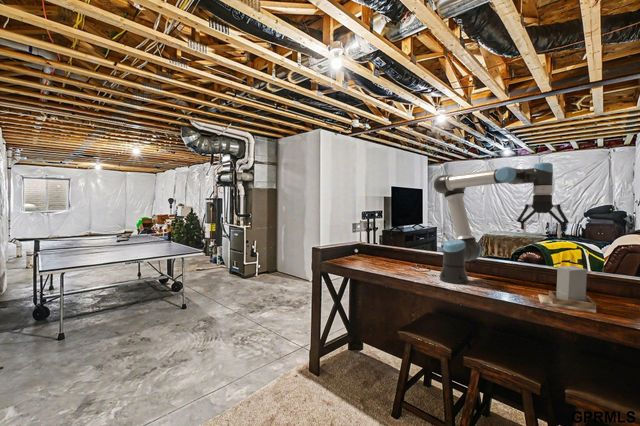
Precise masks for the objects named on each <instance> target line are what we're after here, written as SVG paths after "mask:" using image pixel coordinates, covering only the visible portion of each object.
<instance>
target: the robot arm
mask: <svg viewBox="0 0 640 426" xmlns="http://www.w3.org/2000/svg"><path fill="white" fill-rule="evenodd" d="M553 177H554V167H553V164H552V163H551V162H538V163H534V164H533V167H531V168H517V167H515V168H514V167H510V166H502V167H499V168H497V169H495V168H494V169H490V170H483V171H475V172H470V173H464V174H463V173H462V174H456V175H453V174H442V175H438V176H437V177H436V178H435V179H434V181H433V188H434V190H435V192H437V193H439V194H443V196H444V199H445V200H446V201H448V206H449V211H450V215H451V219H452V223H453V228H454V232H455V239H451V240H446V241H444V243H443V247H442V250H443V251H442V255H443V256H442V259H443V260H442V268H441V271H440V274H439V280H440V281H442V282H444V283H448V284H458V285H459V284H462V285H463V284H468V283H469V278H468V274H467V272H466V262H469V261H474V260H478V259H479V258H480V257H481V255H482V252H483V251H482V249H483V248H482V246H481V244H480V243H479V242H477V240H476V237H475V236H474V235H473V233H472V231H471V227H470V223H469V222H470V221H469V219H468V214H467V210H466V206H465V203H464V196H465V190H466V188H469V187H470V188H471V187H480V186H481V187H482V186H490V185H497V184H506V183H507V184H508V185H522V184H523V185H524V184H533V185H532V193H533V195H532V204H528V203H526V204H524V209H523V210H522V211H521V213H520V215H519V217H518V218H517V219H516V222H518V223H520V229H521V231H522V230H523V233H522V234H523V237H527V236H526V229H527V223H526V222H527V221H528V220H529V219H530V218H531V217H533V215H534V214H536V213H537V214H549V215H550V216H551V217H552V218H554V220H556V222H557V223H558V224H557V239H561V235H562V233H561V232H564V228H565V227H564V226H565V225H566V224H569V223H570V222H569V220H568V219H567V217H566V215H565V213H564V212H563V210H562V209H561V208H562V207H561V206H562V205H561V204H559V203H558V204H553V195H552V194H553V179H554V178H553ZM530 208H532V209H533V210H532V211H531V212H530V213H529V214H528V215H526V216H525V214H526V212H528V210H529V209H530ZM553 208H554V209H555V210H556V211H558V212H557V213H558V214H559V215H560V217H561V218H562V220H563V221H562V220H561V219H560V218H559V217H558V215H556V213H554V212H553V211H552V209H553ZM524 216H525V217H524ZM523 217H524V218H523ZM522 218H523V219H522Z"/></svg>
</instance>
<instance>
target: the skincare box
mask: <svg viewBox="0 0 640 426" xmlns="http://www.w3.org/2000/svg"><path fill="white" fill-rule="evenodd" d="M556 274H557V276H556V292H557V294H556V298H561V299H568V300H575V301H582V302H585V300H586V296H587V279H588V277H587V276H588V269H587V268H583V267H579V266H576V265H568V266H566V265H565V266H557V272H556Z"/></svg>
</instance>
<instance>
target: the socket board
mask: <svg viewBox="0 0 640 426" xmlns="http://www.w3.org/2000/svg"><path fill="white" fill-rule="evenodd" d="M556 294H557V290H556V291H553V290H548V295H546V294H537V297H538V299H539V302H540V305H543V306H548V307H555V308H561V309H569V310H575V311H581V312H589V313H594V314H596V313H597V303H596V302H595V301H594V300H593V299H592V298H591V297H590V296H589V295H586V300H585V302H582V301H575V300H568V299H561V298H556Z"/></svg>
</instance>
